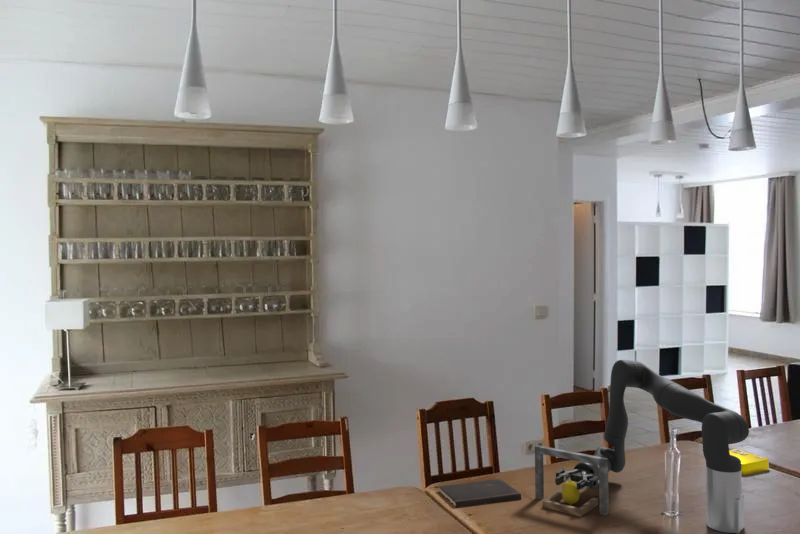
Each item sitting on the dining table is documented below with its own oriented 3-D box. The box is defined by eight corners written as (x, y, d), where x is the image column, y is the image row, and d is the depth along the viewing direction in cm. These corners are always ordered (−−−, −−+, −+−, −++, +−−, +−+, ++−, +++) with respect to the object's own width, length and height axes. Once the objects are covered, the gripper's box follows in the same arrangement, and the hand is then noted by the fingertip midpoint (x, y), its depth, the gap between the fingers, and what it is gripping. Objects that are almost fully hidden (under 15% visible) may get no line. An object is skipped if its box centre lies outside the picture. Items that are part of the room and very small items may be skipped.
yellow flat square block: (707, 465, 247) (707, 452, 247) (735, 459, 253) (735, 447, 253) (743, 476, 233) (743, 463, 233) (771, 470, 240) (771, 457, 240)
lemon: (580, 508, 204) (579, 483, 204) (562, 507, 205) (561, 482, 205) (579, 502, 209) (578, 477, 209) (561, 502, 210) (560, 477, 210)
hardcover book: (438, 492, 222) (438, 485, 222) (500, 485, 228) (500, 478, 228) (455, 509, 207) (455, 502, 207) (521, 500, 213) (521, 493, 213)
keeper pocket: (614, 509, 203) (614, 454, 203) (598, 521, 194) (597, 464, 194) (545, 492, 219) (544, 442, 219) (527, 503, 210) (526, 450, 209)
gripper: (569, 455, 222) (546, 468, 209) (610, 463, 213) (588, 476, 200) (569, 477, 222) (546, 491, 210) (610, 486, 213) (588, 501, 200)
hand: (567, 484), depth 205 cm, fingers open, 6 cm apart
